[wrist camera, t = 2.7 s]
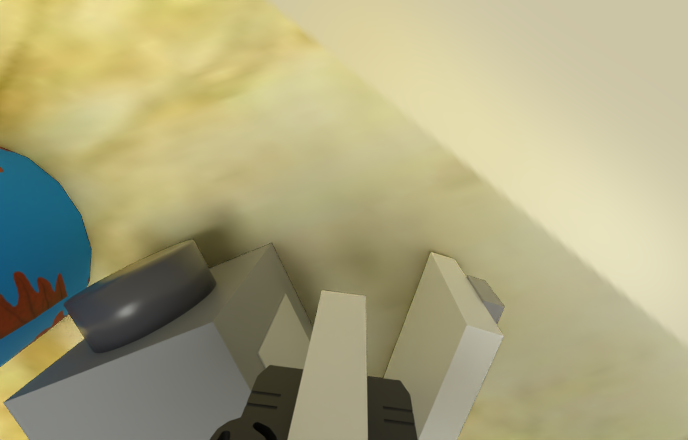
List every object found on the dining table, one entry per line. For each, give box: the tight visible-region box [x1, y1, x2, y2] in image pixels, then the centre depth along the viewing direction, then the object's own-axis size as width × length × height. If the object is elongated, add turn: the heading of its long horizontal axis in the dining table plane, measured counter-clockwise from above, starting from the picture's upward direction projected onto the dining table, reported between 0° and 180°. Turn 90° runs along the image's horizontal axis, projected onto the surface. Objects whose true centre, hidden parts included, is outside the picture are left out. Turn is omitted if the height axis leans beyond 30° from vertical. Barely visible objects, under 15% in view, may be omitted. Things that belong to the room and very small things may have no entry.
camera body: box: [4, 240, 313, 440], centre depth 18 cm, size 15×8×9 cm, turn 23°
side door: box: [384, 252, 504, 440], centre depth 17 cm, size 11×2×8 cm, turn 163°
